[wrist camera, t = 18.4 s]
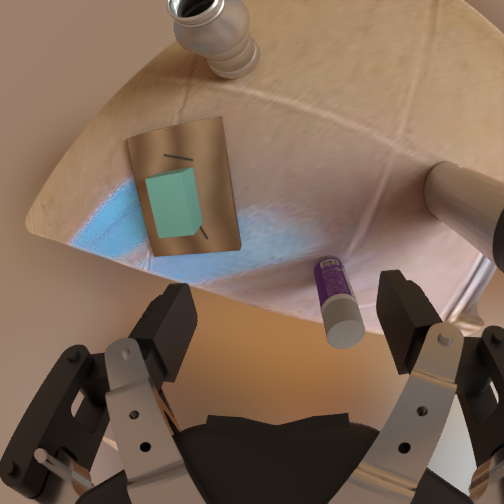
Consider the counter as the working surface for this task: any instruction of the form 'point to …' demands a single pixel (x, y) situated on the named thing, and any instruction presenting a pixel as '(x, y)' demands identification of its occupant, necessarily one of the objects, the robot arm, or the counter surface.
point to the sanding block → (175, 202)
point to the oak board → (208, 181)
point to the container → (338, 304)
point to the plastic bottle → (216, 34)
